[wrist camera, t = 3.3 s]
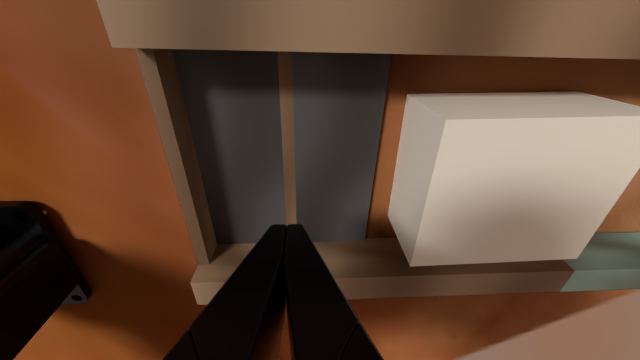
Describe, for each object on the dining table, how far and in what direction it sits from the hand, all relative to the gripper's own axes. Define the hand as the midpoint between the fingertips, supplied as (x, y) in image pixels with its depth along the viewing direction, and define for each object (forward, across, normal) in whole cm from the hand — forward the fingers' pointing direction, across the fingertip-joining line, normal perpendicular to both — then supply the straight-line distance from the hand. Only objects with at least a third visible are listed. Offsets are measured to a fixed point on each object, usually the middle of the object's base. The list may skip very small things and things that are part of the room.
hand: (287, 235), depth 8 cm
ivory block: (+5, -8, 0) cm, 9 cm away
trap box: (+5, -9, 0) cm, 10 cm away
